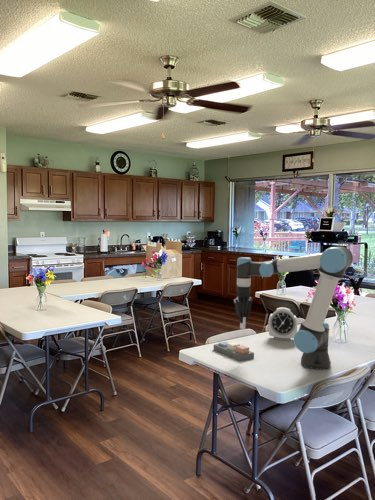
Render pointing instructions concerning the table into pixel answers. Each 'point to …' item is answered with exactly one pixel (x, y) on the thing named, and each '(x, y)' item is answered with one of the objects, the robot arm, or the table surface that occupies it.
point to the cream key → (232, 346)
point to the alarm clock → (282, 324)
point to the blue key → (223, 344)
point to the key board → (233, 353)
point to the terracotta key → (242, 349)
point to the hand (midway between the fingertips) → (242, 328)
